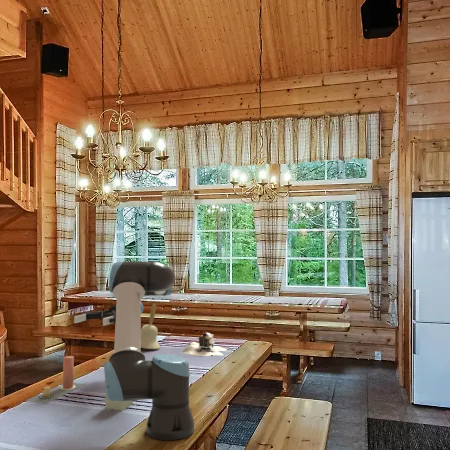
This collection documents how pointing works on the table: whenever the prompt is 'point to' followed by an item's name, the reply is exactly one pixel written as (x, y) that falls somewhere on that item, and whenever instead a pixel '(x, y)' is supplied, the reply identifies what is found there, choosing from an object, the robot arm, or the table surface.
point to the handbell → (149, 333)
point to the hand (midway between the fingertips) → (89, 320)
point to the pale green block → (117, 404)
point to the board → (53, 393)
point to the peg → (68, 372)
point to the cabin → (203, 346)
